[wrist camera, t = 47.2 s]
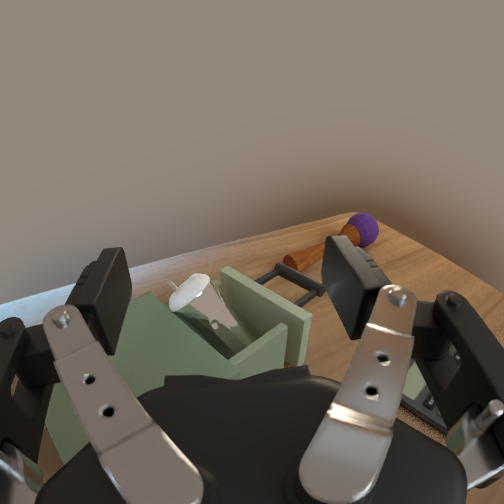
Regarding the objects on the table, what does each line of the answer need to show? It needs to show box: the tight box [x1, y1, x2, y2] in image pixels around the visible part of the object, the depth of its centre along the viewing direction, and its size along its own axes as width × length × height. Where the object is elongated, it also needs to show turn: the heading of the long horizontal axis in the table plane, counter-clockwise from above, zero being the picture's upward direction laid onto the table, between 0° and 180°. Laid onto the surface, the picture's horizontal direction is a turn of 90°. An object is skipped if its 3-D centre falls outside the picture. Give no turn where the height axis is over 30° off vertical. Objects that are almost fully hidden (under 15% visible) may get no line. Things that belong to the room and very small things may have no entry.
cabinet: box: [45, 292, 241, 465], centre depth 22 cm, size 14×13×9 cm
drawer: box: [164, 263, 326, 379], centre depth 30 cm, size 19×11×7 cm, turn 135°
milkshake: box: [164, 273, 255, 360], centre depth 28 cm, size 4×5×10 cm
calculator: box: [400, 344, 461, 434], centre depth 25 cm, size 12×1×15 cm
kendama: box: [283, 213, 379, 273], centre depth 50 cm, size 6×6×20 cm
